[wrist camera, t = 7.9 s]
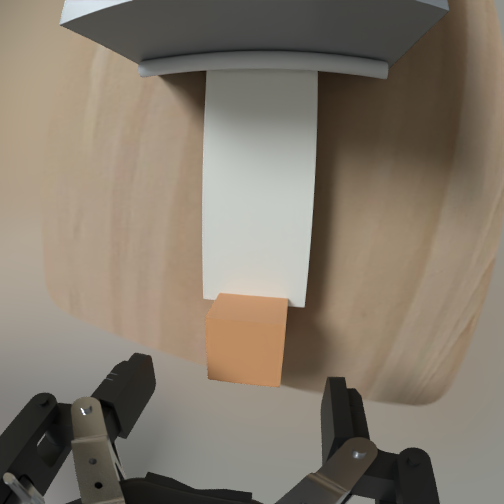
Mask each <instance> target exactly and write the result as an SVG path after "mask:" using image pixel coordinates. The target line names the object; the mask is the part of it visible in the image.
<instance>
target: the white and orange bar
mask: <svg viewBox="0 0 504 504" xmlns="http://www.w3.org/2000/svg"><path fill="white" fill-rule="evenodd" d="M317 99H318V71H312V70H295V69H223V70H207V76H206V95H205V117H204V145H203V196H202V249H203V299H210V300H215V301H214V303H213V305H212V307H211V308H210V310H209V312H208V313H207V315H206V317H205V326H206V350H207V370H208V379H210V380H218V381H225V382H232V383H241V384H250V385H260V386H270V387H280V380H281V371H282V361H283V351H284V341H285V331H286V319H287V306H292V307H304V306H305V297H306V287H307V277H308V266H309V255H310V243H311V230H312V216H313V201H314V184H315V164H316V139H317Z"/></svg>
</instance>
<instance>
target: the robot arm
mask: <svg viewBox="0 0 504 504" xmlns="http://www.w3.org/2000/svg"><path fill="white" fill-rule="evenodd" d="M155 386H156V379H155V374H154V368H153V363H152V358H151V356H150V355H145V354H139V353H134V354H133V355H132V356H131V358H130V359H129V360H128V361H122V362H121V363H119V364H117V365H116V366H115V367H114V368H113V370H112V371H111V372H110V374H108V375H107V377H106V379H104V380H103V382H102V383H101V384H100V385H99V387H98V388H97V389H96V390H95V392H94V393H93V394H92V396H90V397H82V398H79V399H77V400H76V401H74V402H73V404H64V403H57V401H56V398H55V397H54V395H52V394H50V393H39V394H37V395H35V396H34V397H33V398H32V399H31V400H30V401H29V402H28V403H27V405H26V406H25V407H24V408H23V409H22V410H21V412H20V413H19V414H18V415H17V416H16V418H15V419H14V420H13V421H12V422H11V424H10V425H9V426H8V427H7V428H6V430H5V431H4V432H3V433H2V435H1V436H0V504H45V501H44V498H43V496H44V495H45V493H46V491H47V489H48V488H49V486H50V484H51V482H52V481H53V479H54V478H55V476H56V474H57V473H58V471H59V469H60V468H61V466H62V464H63V463H64V461H65V459H66V458H67V456H68V454H69V453H70V451H71V450H72V453H73V459H74V465H75V471H76V476H77V481H78V487H79V491H80V496H81V498H79V499H77V500H74V501H72V502H69V503H66V504H263V503H260V502H258V501H256V500H253V499H252V493H251V492H243V491H235V490H228V489H208V490H207V489H205V490H199V489H194V488H192V487H190V486H187V485H185V484H183V483H181V482H179V481H177V480H175V479H173V478H169V477H165V476H162V475H158V474H154V473H151V472H148V473H147V475H146V477H145V478H130V479H127V478H126V475H125V473H124V469H123V466H122V463H121V460H120V456H119V453H118V450H117V447H116V443H115V439H116V438H117V436H119V437H122V438H124V439H126V438H127V437H128V435H129V433H130V432H131V430H132V428H133V426H134V425H135V423H136V421H137V420H138V418H139V416H140V414H141V413H142V411H143V409H144V408H145V406H146V404H147V403H148V401H149V399H150V398H151V396H152V394H153V393H154V390H155ZM321 432H322V467H321V468H320V469H319V470H318V471H317V472H316V473H310V474H308V475H307V476H306V477H305V478H303V479H302V480H301V481H300V482H299V483H298V484H297V485H296V486H295V487H294V488H293V489H291V490H290V491H289V492H288V493H287V494H285V495H284V496H283V497H282V498H281V499H280V500H278V501H277V502H276V503H275V504H347V503H348V501H349V500H350V499H351V498H352V497H353V496H354V495H358V496H362V497H367V498H372V499H375V504H440V503H439V497H438V492H437V487H436V482H435V478H434V473H433V469H432V465H431V460H430V457H429V455H428V454H427V453H426V452H425V451H423V450H422V449H419V448H407V449H405V450H403V451H402V452H400V454H394V453H389V452H384V451H381V450H379V449H378V448H377V447H376V445H375V444H374V443H373V442H372V441H370V437H369V432H368V427H367V421H366V417H365V414H364V407H363V402H362V397H361V395H360V394H359V393H358V391H357V390H356V389H355V388H347V387H346V381H345V377H327V381H326V385H325V390H324V394H323V399H322V404H321ZM44 433H45V437H44V438H43V439H42V441H41V442H40V444H39V445H38V446H37V444H38V442H39V440H40V439H41V438H42V436H43V435H44Z"/></svg>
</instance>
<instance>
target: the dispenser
mask: <svg viewBox="0 0 504 504" xmlns="http://www.w3.org/2000/svg"><path fill="white" fill-rule="evenodd" d="M448 12H449V6H448V2H447V0H65V4H64V8H63V12H62V16H61V20H60V24H59V25H60V26H63V27H65V28H67V29H70V30H72V31H74V32H76V33H78V34H80V35H82V36H84V37H86V38H89V39H91V40H93V41H95V42H97V43H99V44H101V45H103V46H105V47H107V48H109V49H111V50H112V51H114V52H116V53H118V54H120V55H122V56H124V57H126V58H128V59H129V60H131V61H133V62H135V63H137V64H139V67H138V71H139V75H140V76H141V77H149V76H156V75H164V74H172V73H182V72H192V71H205V70H223V69H295V70H312V71H325V72H335V73H345V74H353V75H361V76H368V77H374V78H381V79H387V76H388V69H389V68H390V67H391V66H392V65H393V64H394V63H395V62H396V61H398V60H399V59H400V58H401V57H402V56H403V55H404V54H405V53H406V52H407V51H408V50H409V49H410V48H411V47H412V46H413V45H414V44H415V43H416V42H417V41H418V40H419V39H420V38H421V37H422V36H423V35H424V34H425V33H426V32H427V31H428V30H430V29H431V28H432V27H433V26H434V25H435V24H436V23H437V22H438V21H439V20H440V19H441V18H442V17H443V16H444V15H445V14H446V13H448Z"/></svg>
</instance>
